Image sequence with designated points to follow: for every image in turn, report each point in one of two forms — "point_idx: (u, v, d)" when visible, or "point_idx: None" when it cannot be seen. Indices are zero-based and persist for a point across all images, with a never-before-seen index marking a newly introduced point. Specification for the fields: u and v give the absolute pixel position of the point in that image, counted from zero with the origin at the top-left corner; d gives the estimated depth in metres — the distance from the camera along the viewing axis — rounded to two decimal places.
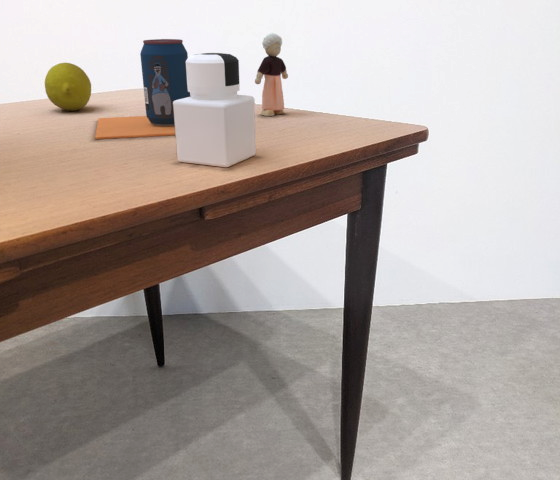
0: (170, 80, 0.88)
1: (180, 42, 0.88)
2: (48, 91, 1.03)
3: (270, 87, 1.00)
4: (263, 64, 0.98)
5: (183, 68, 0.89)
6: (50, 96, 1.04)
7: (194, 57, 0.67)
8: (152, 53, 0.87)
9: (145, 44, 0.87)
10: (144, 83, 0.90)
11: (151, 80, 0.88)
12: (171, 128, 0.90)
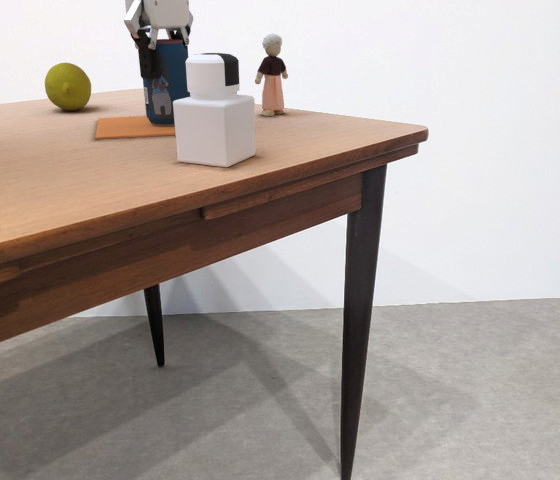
0: (169, 80, 0.88)
1: (180, 42, 0.88)
2: (48, 91, 1.03)
3: (270, 87, 1.00)
4: (263, 64, 0.98)
5: (183, 68, 0.89)
6: (50, 96, 1.04)
7: (194, 57, 0.67)
8: None
9: None
10: (144, 83, 0.90)
11: (151, 80, 0.88)
12: (171, 128, 0.90)
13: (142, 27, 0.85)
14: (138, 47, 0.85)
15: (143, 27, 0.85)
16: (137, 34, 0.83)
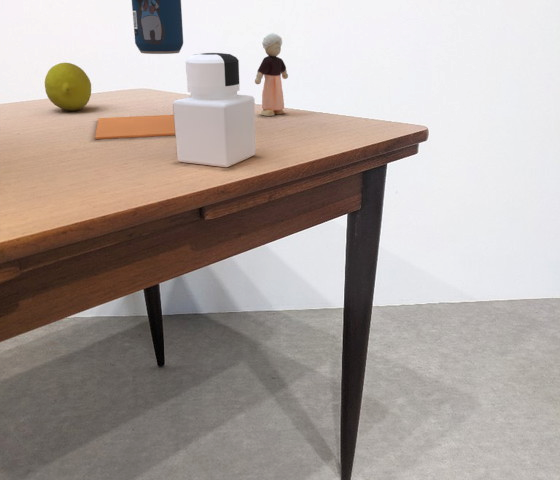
0: (160, 1, 0.83)
1: None
2: (48, 91, 1.03)
3: (270, 87, 1.00)
4: (263, 64, 0.98)
5: None
6: (50, 96, 1.04)
7: (194, 57, 0.67)
8: None
9: None
10: (133, 6, 0.85)
11: (140, 2, 0.83)
12: (171, 128, 0.90)
13: None
14: None
15: None
16: None
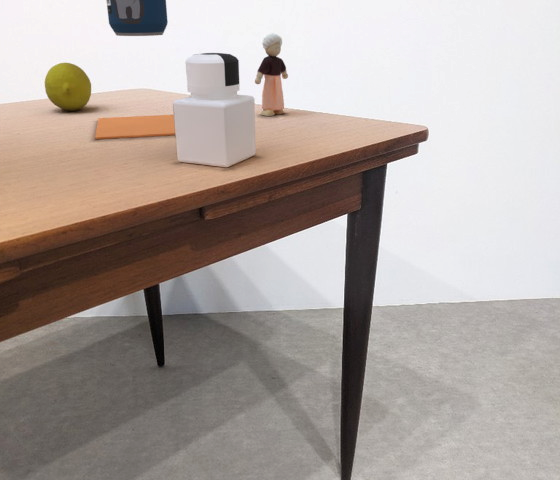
0: None
1: None
2: (48, 91, 1.03)
3: (270, 87, 1.00)
4: (263, 64, 0.98)
5: None
6: (50, 96, 1.04)
7: (194, 57, 0.67)
8: None
9: None
10: None
11: None
12: (171, 128, 0.90)
13: None
14: None
15: None
16: None
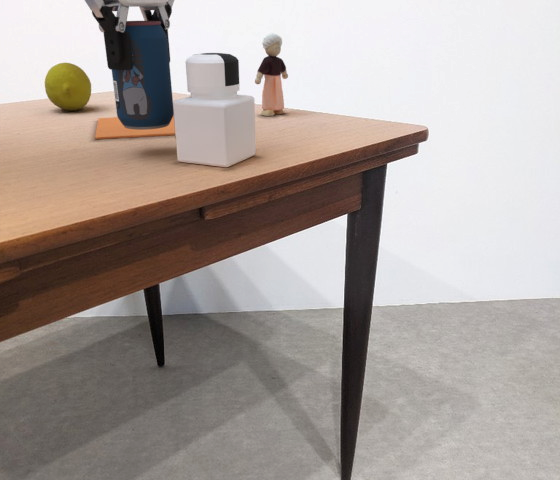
0: (144, 71, 0.70)
1: (157, 24, 0.70)
2: (48, 91, 1.03)
3: (270, 87, 1.00)
4: (263, 64, 0.98)
5: (162, 56, 0.71)
6: (50, 96, 1.04)
7: (194, 57, 0.67)
8: None
9: None
10: (113, 75, 0.72)
11: (121, 71, 0.70)
12: (171, 128, 0.90)
13: (108, 4, 0.67)
14: (103, 29, 0.67)
15: (109, 4, 0.67)
16: (100, 12, 0.65)
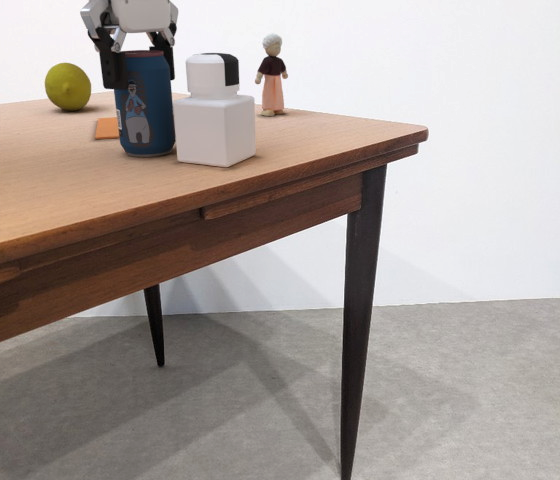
0: (147, 101, 0.71)
1: (160, 54, 0.71)
2: (48, 91, 1.03)
3: (270, 87, 1.00)
4: (263, 64, 0.98)
5: (164, 86, 0.72)
6: (50, 96, 1.04)
7: (194, 57, 0.67)
8: None
9: None
10: (116, 104, 0.73)
11: (124, 101, 0.72)
12: None
13: (107, 26, 0.67)
14: (99, 49, 0.67)
15: (108, 26, 0.67)
16: (96, 32, 0.65)
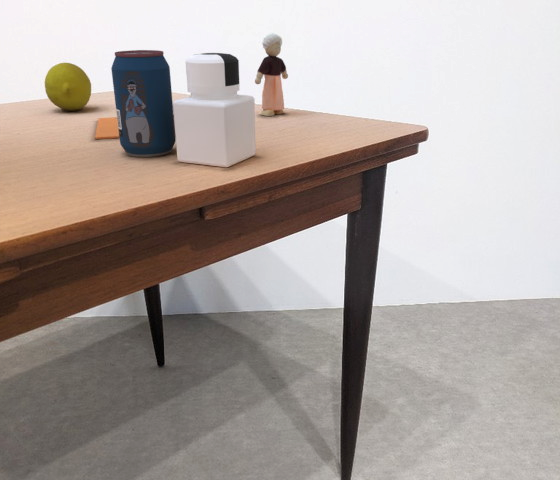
0: (147, 101, 0.71)
1: (160, 54, 0.71)
2: (48, 91, 1.03)
3: (270, 87, 1.00)
4: (263, 64, 0.98)
5: (164, 86, 0.72)
6: (50, 96, 1.04)
7: (194, 57, 0.67)
8: (125, 68, 0.70)
9: (117, 57, 0.71)
10: (116, 104, 0.73)
11: (124, 101, 0.72)
12: None
13: None
14: None
15: None
16: None
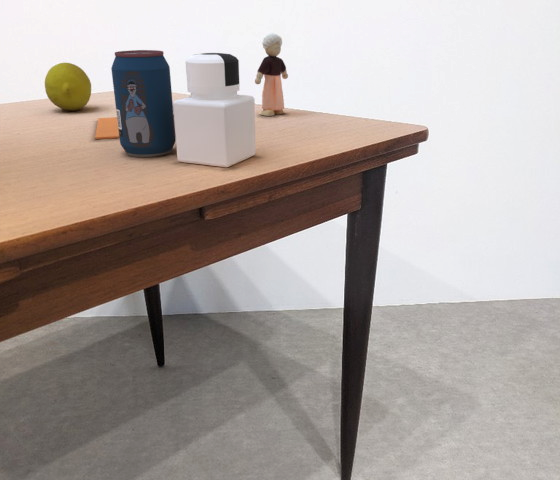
0: (147, 101, 0.71)
1: (160, 54, 0.71)
2: (48, 91, 1.03)
3: (270, 87, 1.00)
4: (263, 64, 0.98)
5: (164, 86, 0.72)
6: (50, 96, 1.04)
7: (194, 57, 0.67)
8: (125, 68, 0.70)
9: (117, 57, 0.71)
10: (116, 104, 0.73)
11: (124, 101, 0.72)
12: None
13: None
14: None
15: None
16: None
